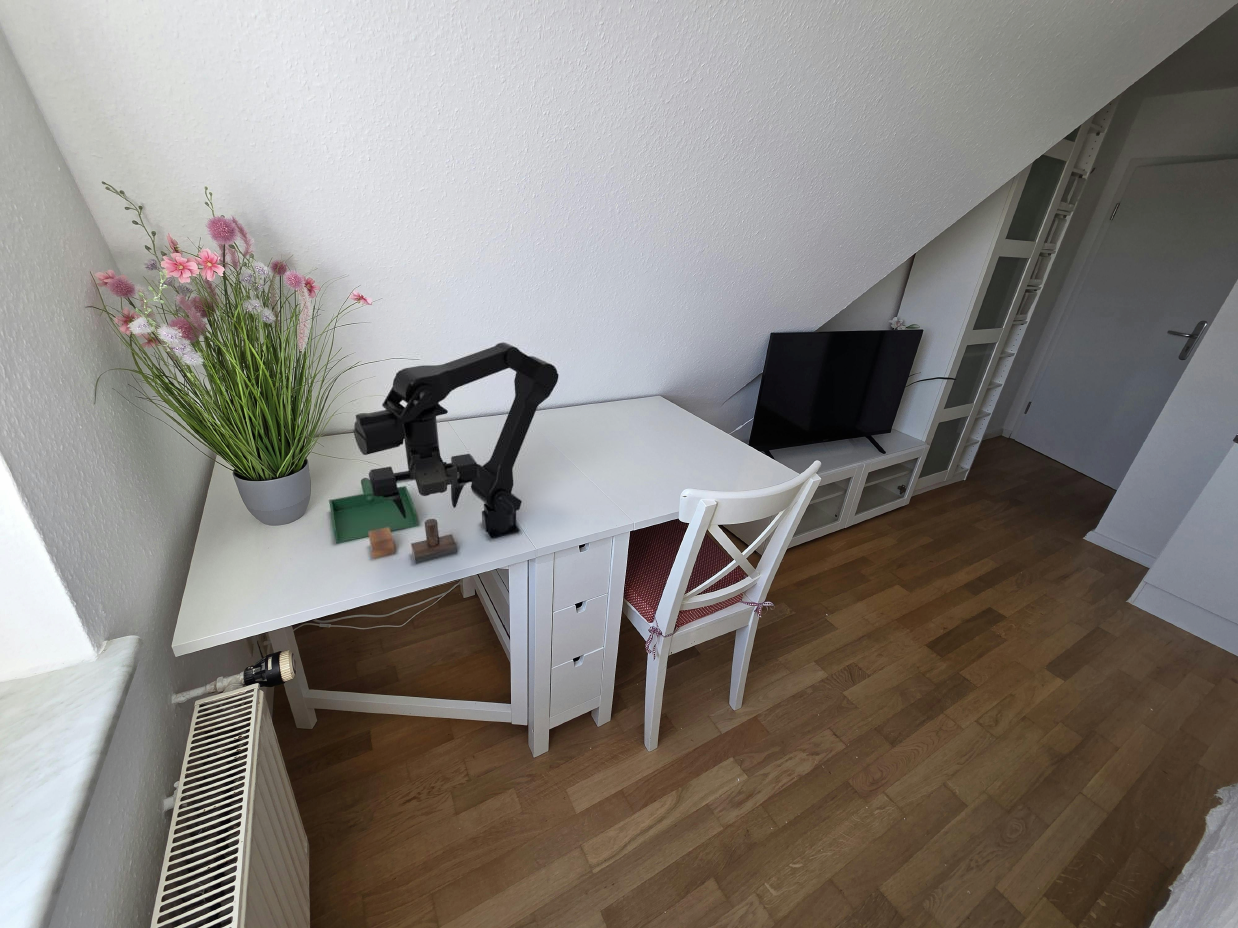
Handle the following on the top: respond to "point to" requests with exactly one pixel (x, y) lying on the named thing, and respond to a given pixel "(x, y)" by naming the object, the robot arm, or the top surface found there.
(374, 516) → the dustpan
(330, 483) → the top surface
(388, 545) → the brown wooden cube
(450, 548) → the brush
